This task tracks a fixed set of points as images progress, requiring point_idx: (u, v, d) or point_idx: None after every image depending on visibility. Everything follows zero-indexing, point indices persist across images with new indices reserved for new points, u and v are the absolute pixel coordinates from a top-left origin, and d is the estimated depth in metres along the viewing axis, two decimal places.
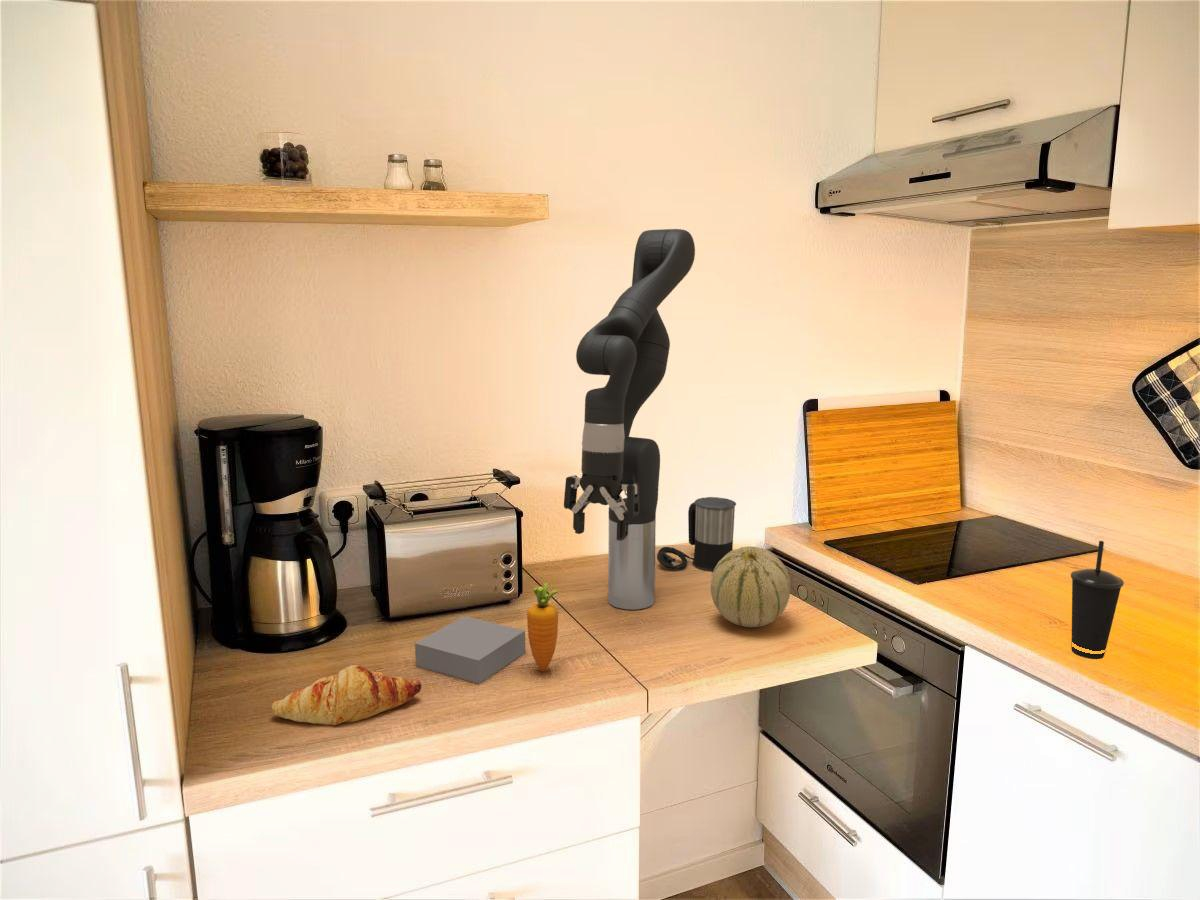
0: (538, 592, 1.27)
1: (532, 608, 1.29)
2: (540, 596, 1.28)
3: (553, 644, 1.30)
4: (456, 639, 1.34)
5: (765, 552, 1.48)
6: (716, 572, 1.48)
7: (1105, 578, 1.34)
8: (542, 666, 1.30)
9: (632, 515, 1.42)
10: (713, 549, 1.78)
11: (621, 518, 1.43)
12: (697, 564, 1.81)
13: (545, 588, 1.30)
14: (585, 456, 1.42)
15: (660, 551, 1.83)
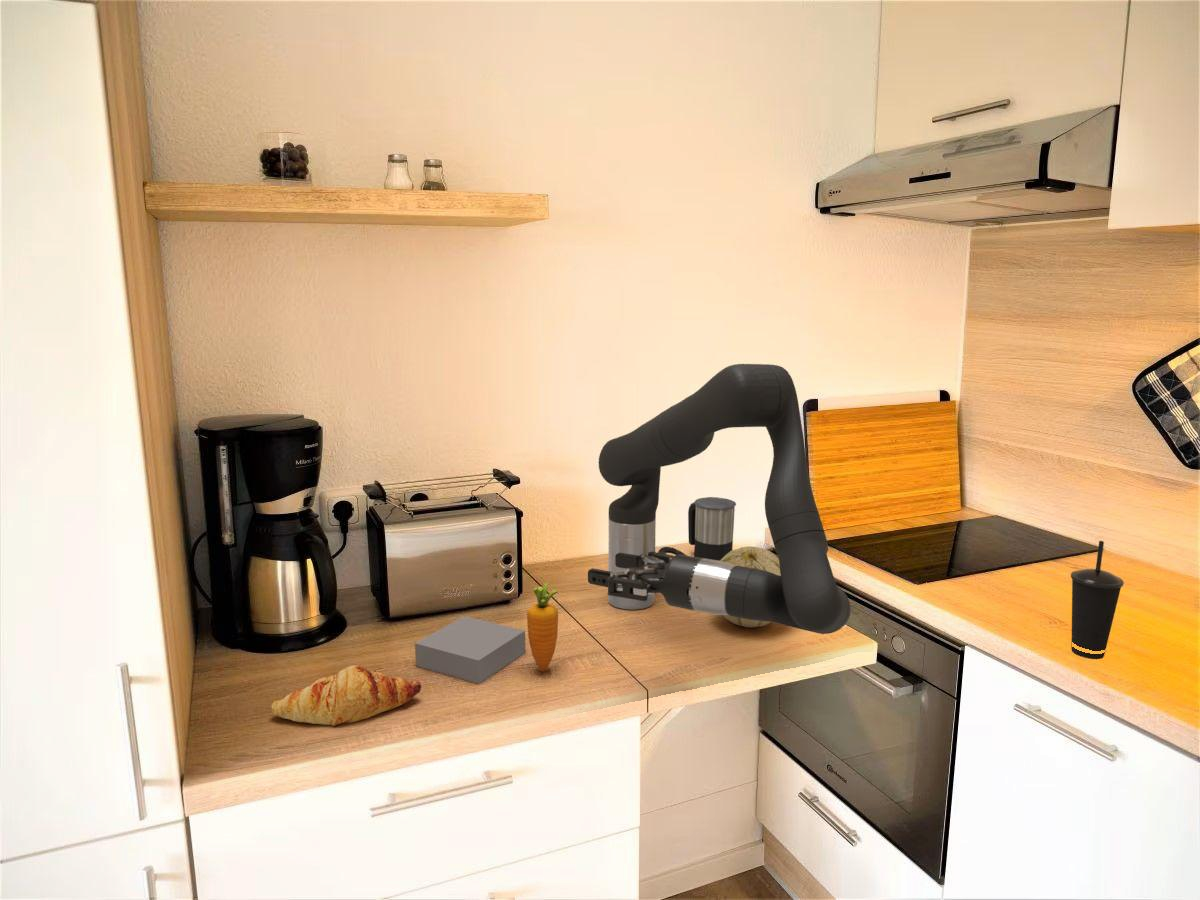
0: (538, 592, 1.27)
1: (532, 608, 1.29)
2: (540, 596, 1.28)
3: (553, 644, 1.30)
4: (456, 639, 1.34)
5: (765, 552, 1.48)
6: None
7: (1105, 578, 1.34)
8: (542, 666, 1.30)
9: None
10: (713, 549, 1.78)
11: None
12: None
13: (545, 588, 1.30)
14: (689, 609, 1.15)
15: (660, 551, 1.83)
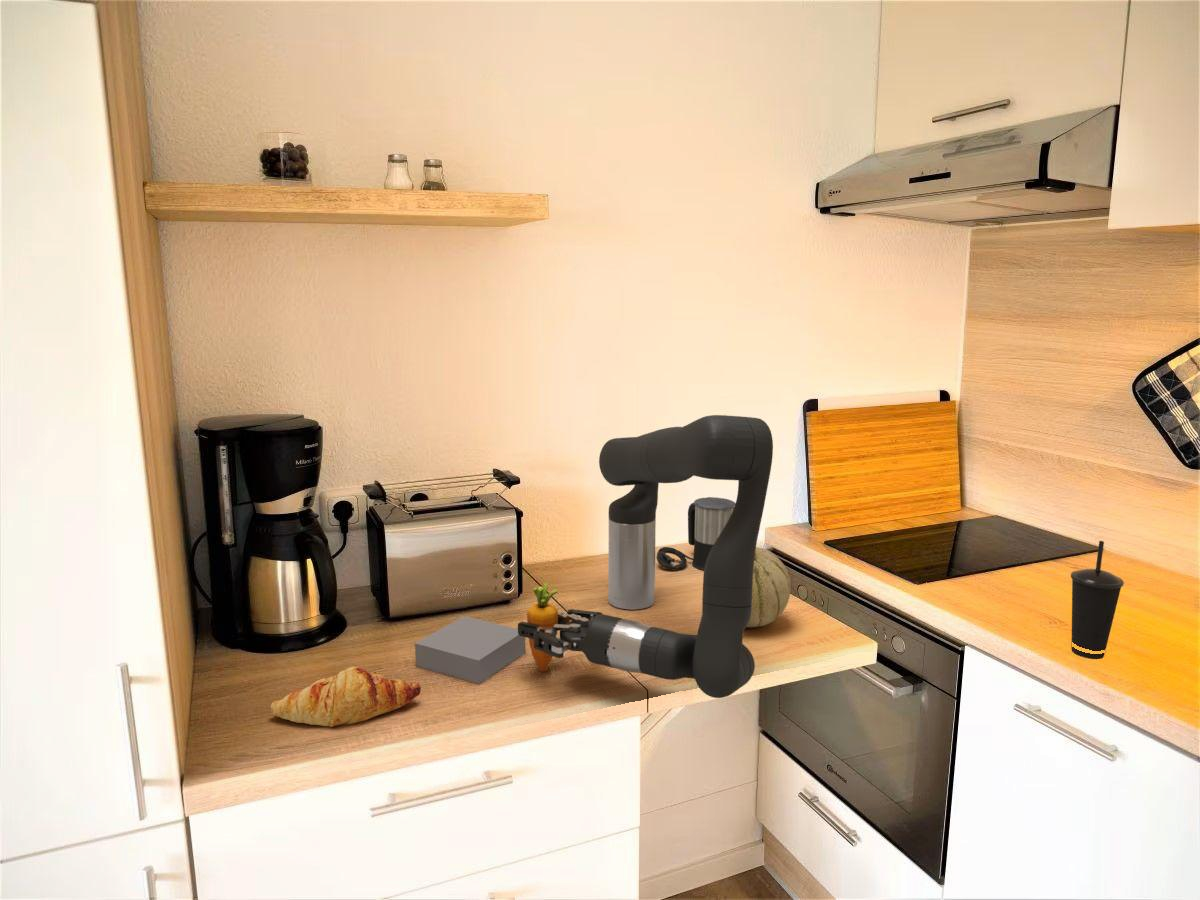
0: (538, 592, 1.28)
1: (532, 608, 1.29)
2: (540, 596, 1.28)
3: None
4: (456, 639, 1.34)
5: (765, 552, 1.48)
6: None
7: (1105, 578, 1.34)
8: (542, 666, 1.30)
9: None
10: None
11: None
12: (696, 564, 1.81)
13: (545, 588, 1.30)
14: None
15: (659, 551, 1.83)
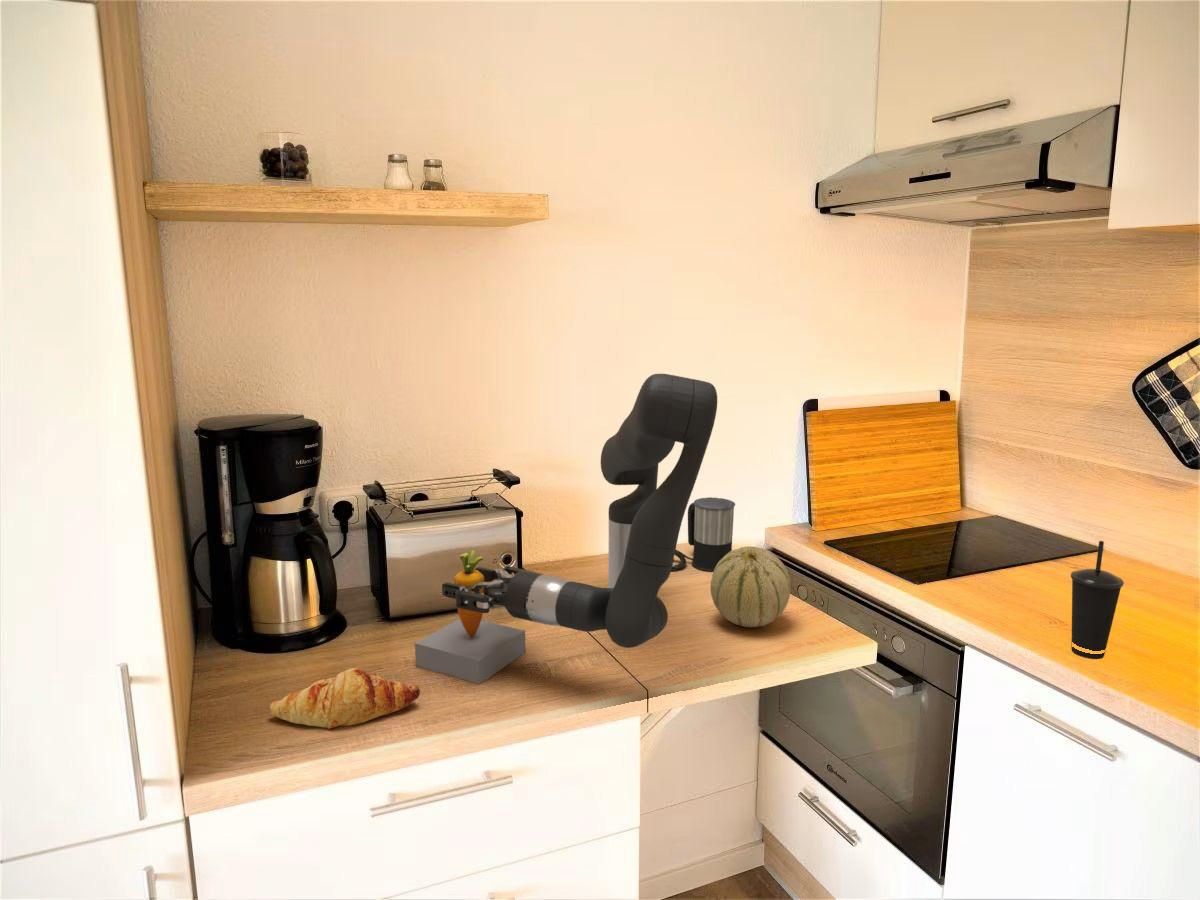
0: (463, 558, 1.31)
1: (458, 574, 1.33)
2: (465, 562, 1.32)
3: None
4: (456, 639, 1.34)
5: (765, 552, 1.48)
6: (716, 572, 1.48)
7: (1105, 578, 1.34)
8: (470, 631, 1.34)
9: None
10: (712, 549, 1.78)
11: None
12: (696, 564, 1.81)
13: (471, 555, 1.34)
14: (529, 620, 1.27)
15: None
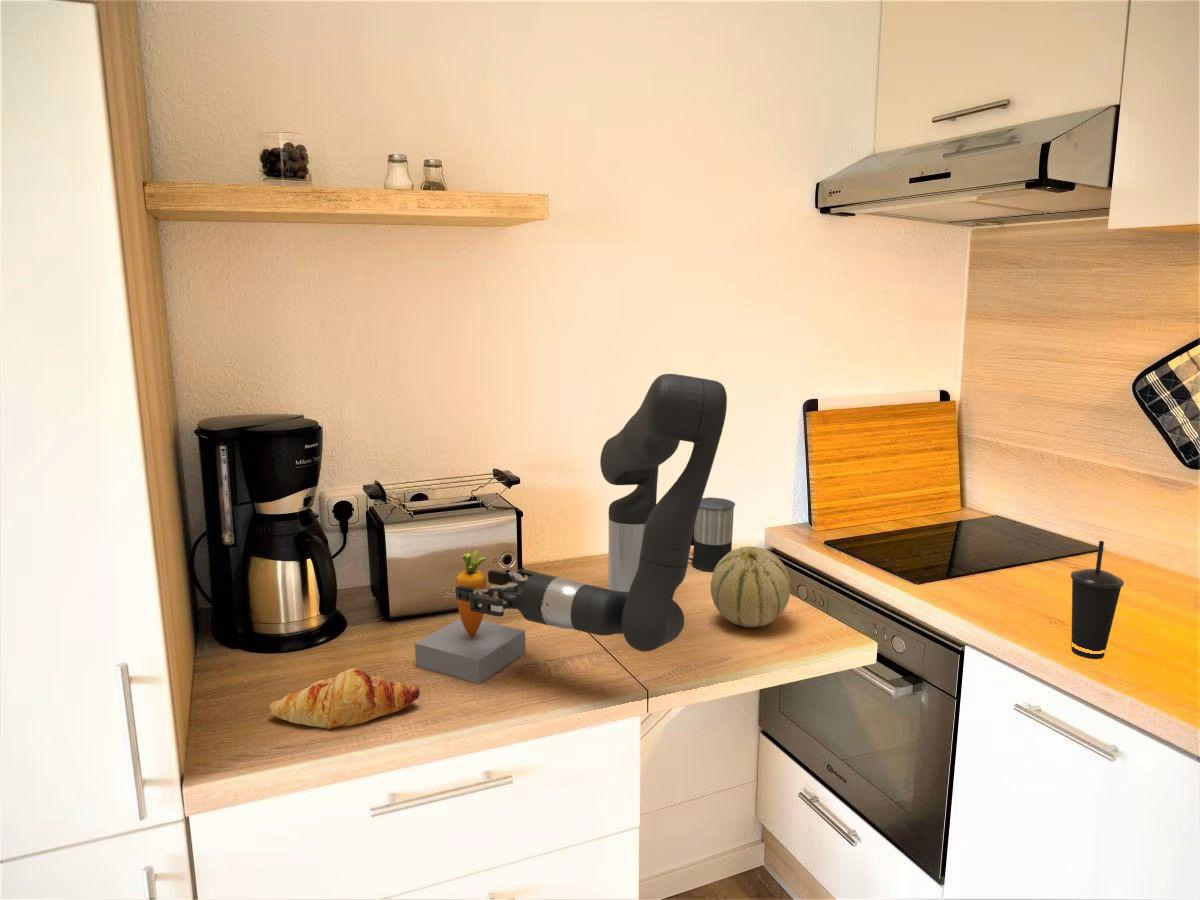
0: (466, 558, 1.31)
1: (460, 574, 1.32)
2: (468, 562, 1.31)
3: None
4: (456, 639, 1.34)
5: (765, 552, 1.48)
6: (716, 572, 1.48)
7: (1105, 578, 1.34)
8: (470, 631, 1.34)
9: None
10: (712, 549, 1.78)
11: None
12: (696, 565, 1.81)
13: (474, 555, 1.34)
14: None
15: None
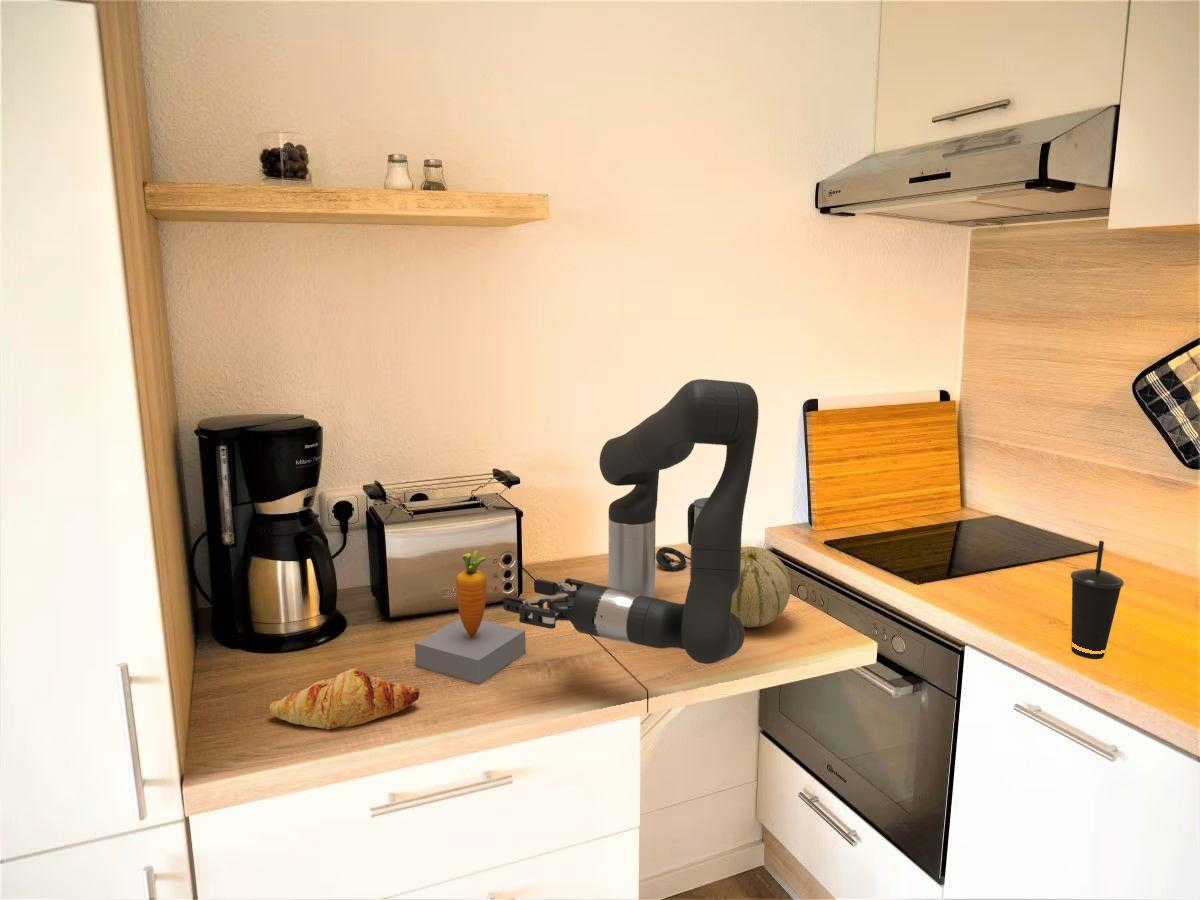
0: (466, 558, 1.31)
1: (460, 574, 1.32)
2: (468, 562, 1.31)
3: (481, 610, 1.33)
4: (456, 639, 1.34)
5: (765, 552, 1.48)
6: None
7: (1105, 578, 1.34)
8: (470, 631, 1.34)
9: None
10: None
11: None
12: None
13: (474, 555, 1.34)
14: None
15: (659, 551, 1.83)
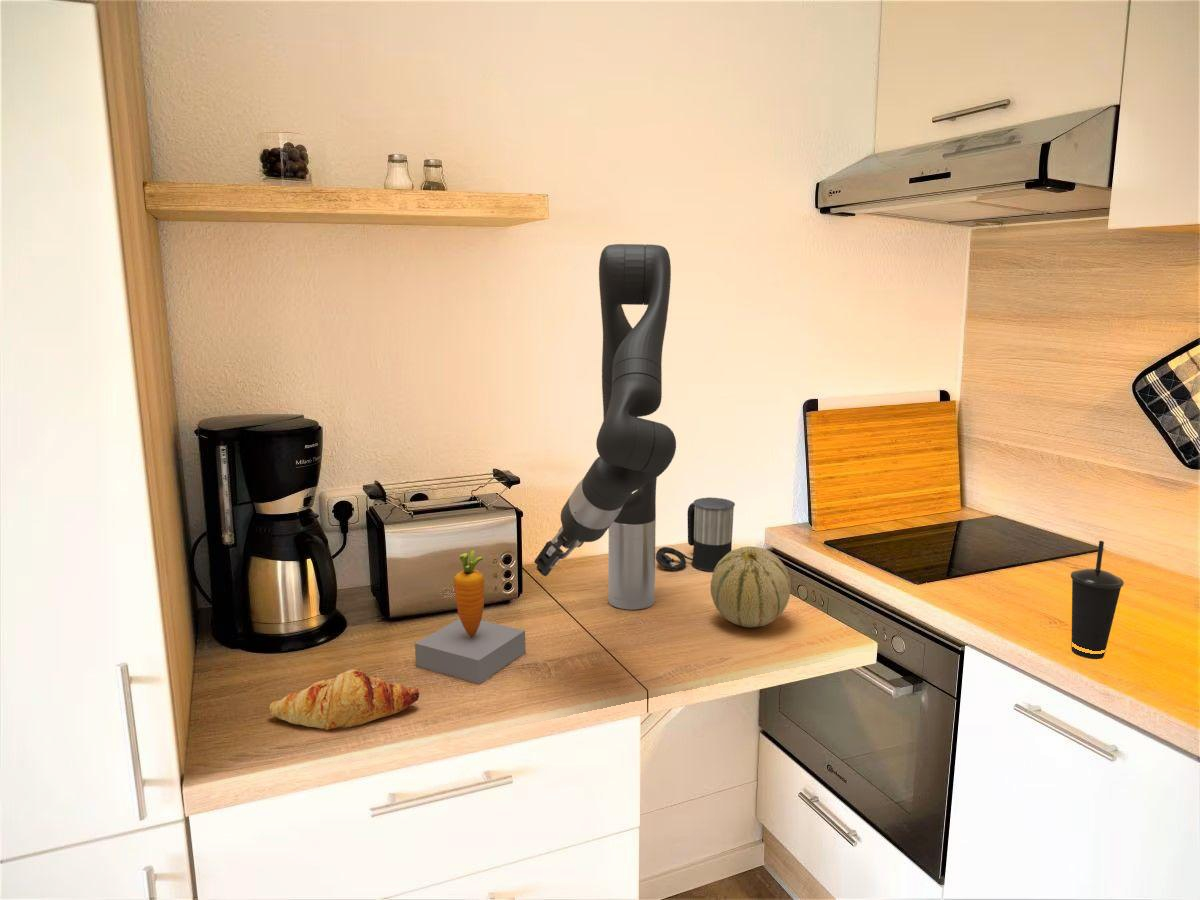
0: (463, 558, 1.31)
1: (458, 574, 1.33)
2: (465, 562, 1.32)
3: (479, 609, 1.33)
4: (456, 639, 1.34)
5: (765, 552, 1.48)
6: (716, 572, 1.48)
7: (1105, 578, 1.34)
8: (470, 631, 1.34)
9: None
10: (711, 549, 1.78)
11: None
12: (696, 565, 1.80)
13: (471, 555, 1.34)
14: (598, 532, 1.20)
15: (659, 551, 1.83)
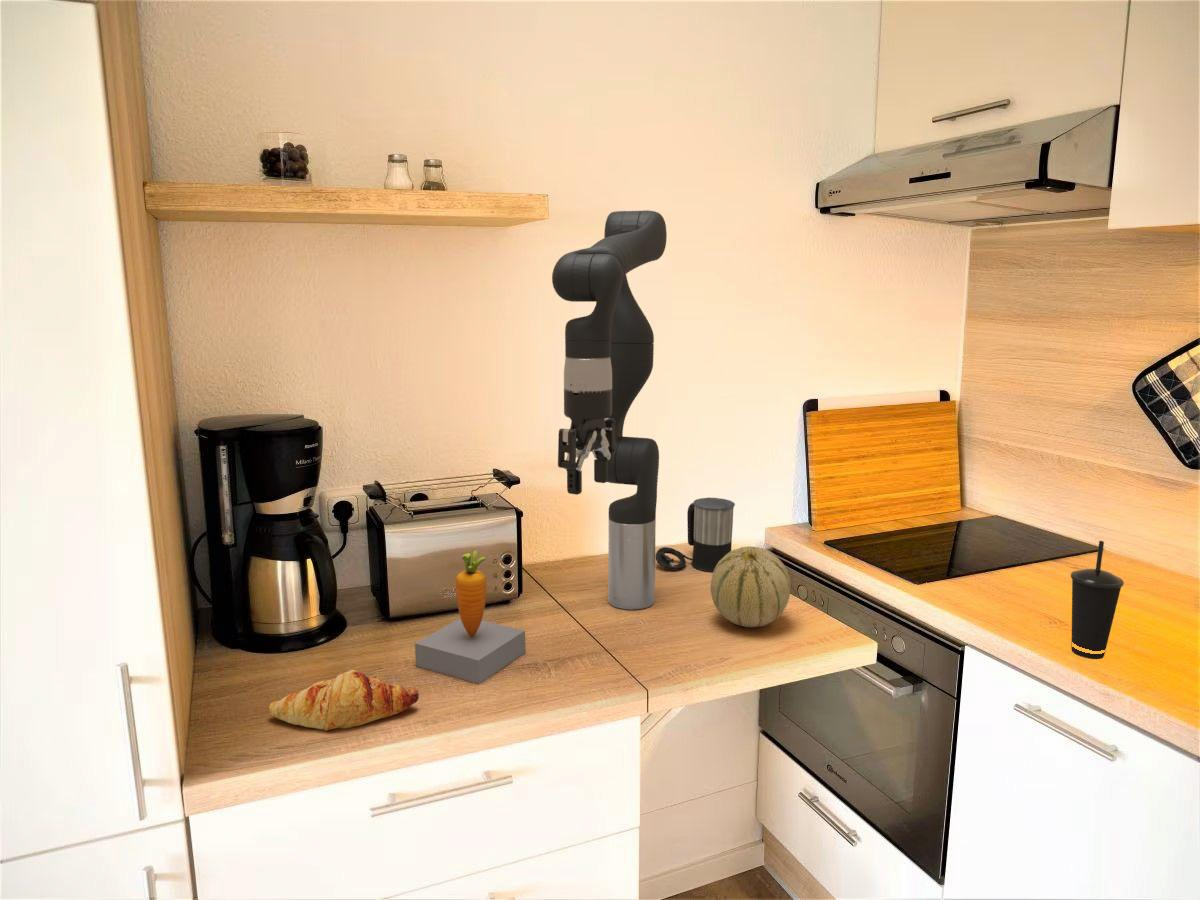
0: (465, 559, 1.31)
1: (460, 574, 1.32)
2: (468, 563, 1.31)
3: (480, 610, 1.33)
4: (456, 639, 1.34)
5: (765, 552, 1.48)
6: (716, 572, 1.48)
7: (1105, 578, 1.34)
8: (470, 631, 1.34)
9: (615, 450, 1.33)
10: (711, 549, 1.78)
11: None
12: (695, 565, 1.80)
13: (474, 555, 1.34)
14: (601, 397, 1.23)
15: (659, 551, 1.83)
